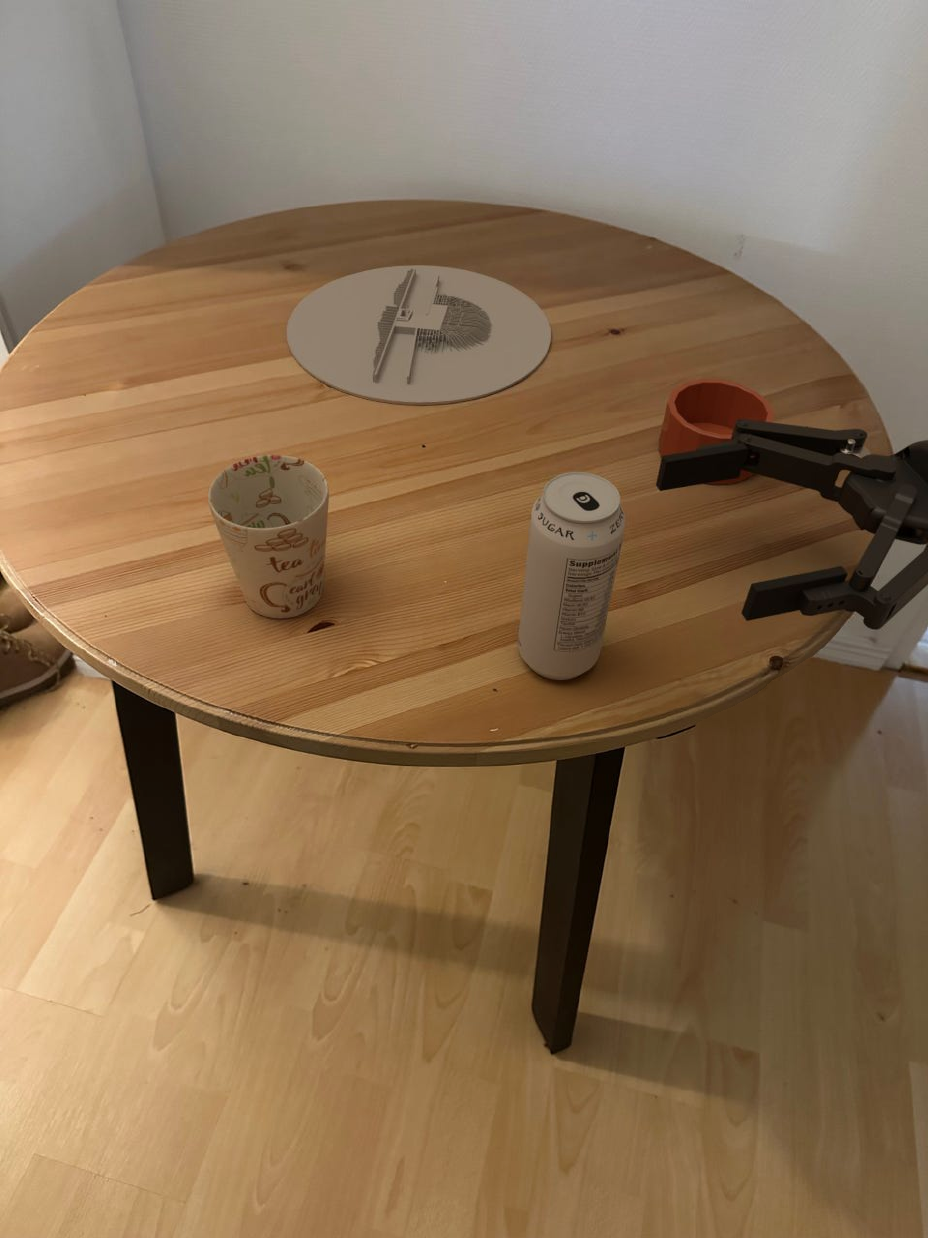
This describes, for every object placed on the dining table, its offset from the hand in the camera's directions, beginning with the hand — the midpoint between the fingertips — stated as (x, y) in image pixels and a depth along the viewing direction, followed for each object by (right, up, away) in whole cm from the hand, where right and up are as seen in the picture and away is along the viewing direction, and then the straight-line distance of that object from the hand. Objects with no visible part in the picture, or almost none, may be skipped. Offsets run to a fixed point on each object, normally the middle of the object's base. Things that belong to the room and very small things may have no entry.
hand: (701, 533), depth 65 cm
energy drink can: (-9, -9, +5) cm, 14 cm away
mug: (-31, -2, +10) cm, 33 cm away
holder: (+6, +9, +22) cm, 25 cm away
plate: (-21, +25, +36) cm, 49 cm away
